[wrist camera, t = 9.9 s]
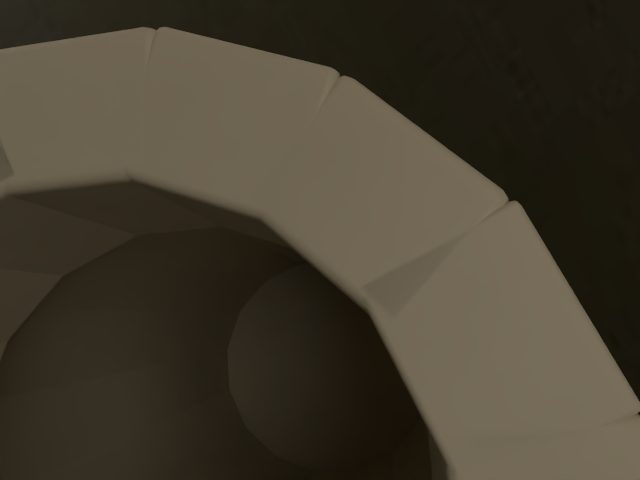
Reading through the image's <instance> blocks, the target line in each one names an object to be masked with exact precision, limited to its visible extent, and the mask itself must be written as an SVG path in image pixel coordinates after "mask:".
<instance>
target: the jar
mask: <svg viewBox="0 0 640 480" xmlns="http://www.w3.org/2000/svg"><path fill="white" fill-rule="evenodd" d="M508 200H509V199H508V198H507V196H506V194H505V192H504V191H503V190H502V189H501V188H500V187H498V186H497V185H496V184H494V183H493V182H492V181H490V180H489V179H488V178H486V177H485V176H484V175H482V174H481V173H480V172H478V171H477V170H476V169H474V168H473V167H472V166H470V165H469V164H468V163H466V162H465V161H464V160H462V159H461V158H460V157H458V156H457V155H456V154H454V153H453V152H451V151H450V150H449V149H447V148H446V147H445V146H443V145H442V144H441V143H439V142H438V141H437V140H435V139H434V138H433V137H431V136H430V135H429V134H427V133H426V132H425V131H423V130H422V129H421V128H419V127H418V126H417V125H415V124H414V123H413V122H411V121H410V120H409V119H407V118H406V117H405V116H403V115H402V114H400V113H399V112H398V111H396V110H395V109H394V108H392V107H391V106H390V105H388V104H387V103H386V102H384V101H383V100H382V99H380V98H379V97H378V96H376V95H375V94H374V93H372V92H371V91H370V90H368V89H367V88H366V87H364V86H363V85H362V84H360V83H359V82H358V81H356V80H355V79H353V78H350V77H347V76H342V77H341V78H340V74H339V73H338V72H337V71H336V70H334V69H333V68H331V67H327V66H323V65H319V64H315V63H310V62H306V61H302V60H298V59H294V58H290V57H286V56H282V55H278V54H274V53H270V52H266V51H261V50H257V49H253V48H249V47H245V46H241V45H237V44H233V43H229V42H225V41H221V40H217V39H213V38H208V37H204V36H200V35H196V34H192V33H188V32H184V31H180V30H176V29H172V28H168V27H161V28H159V29H158V30H157V31H156V30H154V29H152V28H146V27H141V28H135V29H129V30H122V31H116V32H109V33H103V34H97V35H90V36H84V37H77V38H71V39H64V40H58V41H52V42H45V43H39V44H32V45H26V46H20V47H13V48H7V49H0V480H640V415H639V414H638V413H639V412H640V402H639V400H638V398H637V397H636V395H635V393H634V392H633V390H632V388H631V387H630V385H629V383H628V382H627V380H626V378H625V377H624V375H623V373H622V372H621V370H620V369H619V367H618V365H617V364H616V362H615V360H614V359H613V357H612V355H611V354H610V352H609V350H608V349H607V347H606V345H605V344H604V342H603V340H602V339H601V337H600V335H599V334H598V332H597V330H596V329H595V327H594V325H593V324H592V322H591V320H590V319H589V317H588V315H587V314H586V312H585V310H584V309H583V307H582V305H581V304H580V302H579V300H578V299H577V297H576V296H575V294H574V292H573V291H572V289H571V287H570V286H569V284H568V282H567V281H566V279H565V277H564V276H563V274H562V272H561V271H560V269H559V267H558V266H557V264H556V262H555V261H554V259H553V257H552V256H551V254H550V252H549V251H548V249H547V247H546V246H545V244H544V242H543V241H542V239H541V237H540V236H539V234H538V232H537V231H536V229H535V228H534V226H533V224H532V223H531V221H530V219H529V218H528V216H527V214H526V213H525V211H524V209H523V208H522V206H521V205H520V204H519V203H518V202H517V201H509V202H508Z"/></svg>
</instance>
